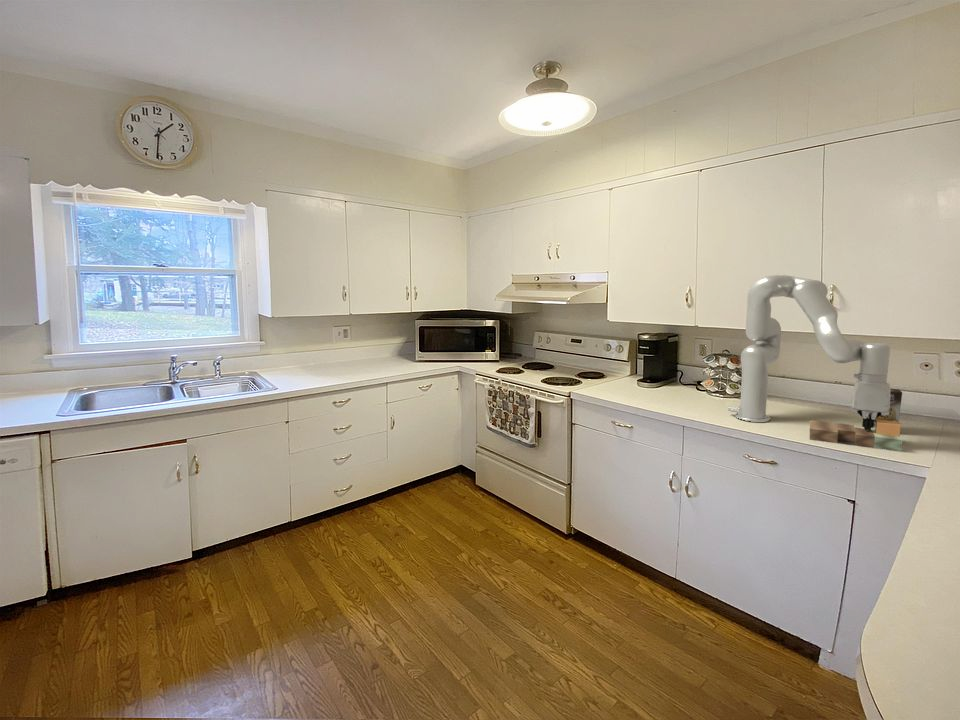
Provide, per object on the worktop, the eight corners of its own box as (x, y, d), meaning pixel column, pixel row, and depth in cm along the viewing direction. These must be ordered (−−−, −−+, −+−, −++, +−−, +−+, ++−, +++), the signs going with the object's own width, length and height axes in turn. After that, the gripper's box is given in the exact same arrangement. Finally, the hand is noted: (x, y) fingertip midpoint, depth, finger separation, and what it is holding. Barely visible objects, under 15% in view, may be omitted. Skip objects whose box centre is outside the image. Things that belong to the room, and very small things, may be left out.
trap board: (809, 439, 170) (810, 428, 169) (809, 430, 180) (810, 420, 180) (901, 451, 155) (902, 440, 155) (895, 440, 166) (896, 429, 165)
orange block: (876, 434, 162) (877, 422, 161) (875, 430, 166) (876, 419, 165) (899, 436, 158) (900, 425, 158) (897, 432, 162) (898, 421, 161)
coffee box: (866, 431, 177) (870, 389, 175) (864, 426, 182) (868, 386, 180) (897, 434, 172) (902, 392, 170) (894, 430, 177) (899, 388, 175)
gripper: (846, 378, 163) (841, 428, 166) (903, 382, 155) (896, 435, 158) (844, 374, 169) (840, 423, 172) (899, 378, 161) (893, 429, 164)
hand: (867, 429), depth 165 cm, fingers closed
